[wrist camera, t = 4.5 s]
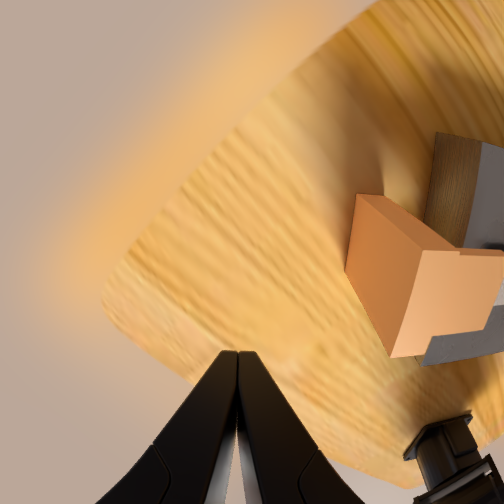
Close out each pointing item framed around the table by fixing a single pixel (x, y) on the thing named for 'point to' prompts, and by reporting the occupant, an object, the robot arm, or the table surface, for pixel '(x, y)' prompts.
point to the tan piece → (417, 277)
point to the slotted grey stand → (467, 229)
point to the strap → (500, 295)
